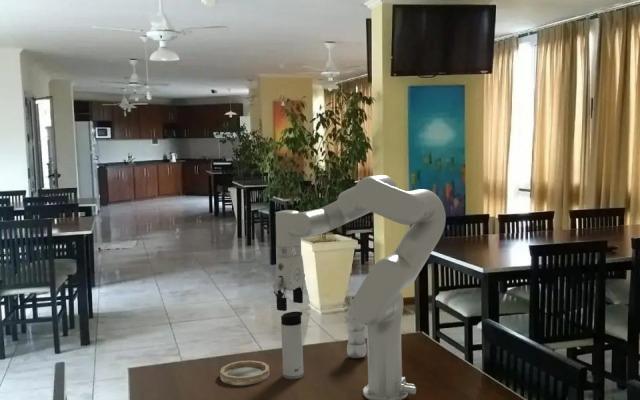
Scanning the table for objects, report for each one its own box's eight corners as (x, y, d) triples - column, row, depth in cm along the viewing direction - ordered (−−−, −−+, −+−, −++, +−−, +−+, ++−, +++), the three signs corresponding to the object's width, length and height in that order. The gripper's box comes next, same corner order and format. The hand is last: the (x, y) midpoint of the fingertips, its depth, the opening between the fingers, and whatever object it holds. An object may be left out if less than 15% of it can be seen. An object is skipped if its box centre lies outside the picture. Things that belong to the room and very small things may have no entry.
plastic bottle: (343, 356, 207) (341, 297, 205) (361, 352, 210) (359, 294, 208) (352, 361, 201) (350, 301, 200) (370, 358, 204) (369, 298, 202)
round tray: (278, 371, 195) (278, 364, 195) (251, 388, 182) (251, 380, 181) (239, 365, 202) (238, 358, 202) (210, 380, 188) (210, 373, 188)
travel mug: (302, 380, 187) (299, 315, 185) (280, 379, 188) (278, 314, 186) (306, 372, 193) (304, 309, 191) (286, 371, 194) (283, 309, 192)
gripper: (284, 256, 178) (286, 315, 179) (313, 247, 193) (314, 301, 195) (262, 255, 181) (264, 312, 183) (292, 245, 197) (293, 298, 198)
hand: (290, 306), depth 189 cm, fingers open, 9 cm apart
